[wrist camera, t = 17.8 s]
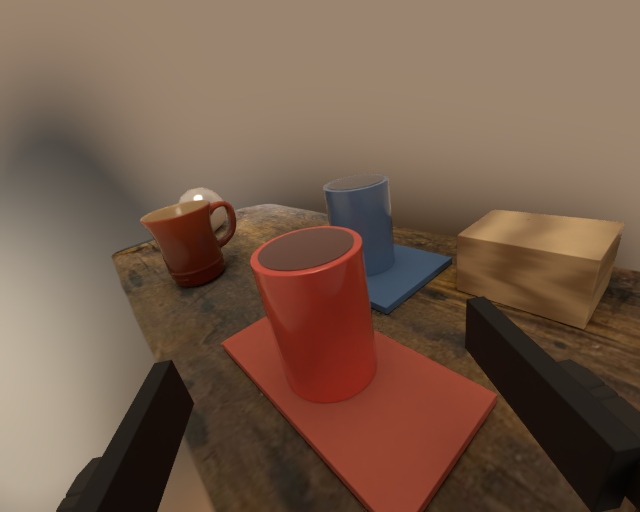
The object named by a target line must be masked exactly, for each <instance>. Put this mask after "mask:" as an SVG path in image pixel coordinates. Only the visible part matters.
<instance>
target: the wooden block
mask: <svg viewBox="0 0 640 512" xmlns="http://www.w3.org/2000/svg"><path fill="white" fill-rule="evenodd" d="M623 228H624V223H623V222H613V221H604V220H594V219H584V218H574V217H564V216H554V215H544V214H534V213H524V212H515V211H503V210H495V209H494V210H492V211H491V212H489V213H488V214H487V215H485V216H484V217H483V218H481V219H480V220H478V221H477V222H476V223H474V224H473V225H471V226H470V227H468V228H467V229H466V230H464V231H463V232H462V233H460V234H459V235H457V288H456V289H457V290H459V291H462V292H465V293H468V294H472V295H475V296H478V297H481V296H485V297H486V298H487V299H488V300H491V301H494V302H497V303H500V304H503V305H507V306H510V307H513V308H516V309H519V310H523V311H526V312H529V313H532V314H535V315H539V316H542V317H545V318H548V319H551V320H555V321H558V322H561V323H564V324H567V325H571V326H574V327H577V328H580V329H585V327H586V325H587V323H588V321H589V319H590V318H591V316H592V314H593V312H594V310H595V308H596V307H597V305H598V303H599V301H600V299H601V297H602V295H603V294H604V292H605V290H606V288H607V286H608V284H609V280H610V276H611V273H612V269H613V265H614V261H615V257H616V254H617V250H618V246H619V243H620V239H621V235H622V231H623Z"/></svg>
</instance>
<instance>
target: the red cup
mask: <svg viewBox="0 0 640 512" xmlns="http://www.w3.org/2000/svg"><path fill="white" fill-rule="evenodd" d="M250 265H251V268H252V271H253V275H254V278H255V281H256V284H257V287H258V291H259V294H260V297H261V300H262V303H263V307H264V310H265V313H266V316H267V319H268V323H269V326H270V329H271V332H272V335H273V339H274V342H275V345H276V348H277V351H278V355H279V358H280V361H281V364H282V367H283V371H284V374H285V377H286V380H287V383H288V385H289V386H290V388H291V389H292V390H293V391H294V392H295V393H296V394H297V395H298V396H300V397H302V398H304V399H306V400H308V401H312V402H317V403H334V402H339V401H343V400H346V399H349V398H351V397H353V396H355V395H356V394H358V393H360V392H361V391H362V390H363V389H365V388H366V387H367V386H368V385H369V383H370V382H371V381H372V379H373V377H374V375H375V373H376V370H377V365H378V358H377V350H376V343H375V335H374V327H373V319H372V312H371V304H370V296H369V288H368V281H367V273H366V265H365V257H364V250H363V242H362V238H361V236H360V235H359V234H358V233H357V232H355V231H354V230H351V229H348V228H344V227H336V226H321V227H311V228H305V229H300V230H296V231H292V232H289V233H286V234H283V235H281V236H278V237H276V238H274V239H272V240H270V241H268V242H266V243H265V244H263V245H262V246H260V247H259V248H258V249H257V250H256V251H255V252H254V253H253V254H252V256H251V260H250Z"/></svg>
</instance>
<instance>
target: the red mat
mask: <svg viewBox="0 0 640 512" xmlns="http://www.w3.org/2000/svg"><path fill="white" fill-rule="evenodd" d="M374 335H375V343H376V350H377V358H378V365H377V370H376V373H375V375H374V377H373V379H372V381H371V382H370V383H369V385H368V386H367V387H366V388H365V389H363V390H362V391H361V392H360V393H358V394H356V395H355V396H353V397H351V398H349V399H346V400H343V401H339V402H334V403H317V402H312V401H308V400H306V399H304V398H302V397H300V396H298V395H297V394H296V393H295V392H294V391H293V390H292V389H291V388H290V386H289V385H288V383H287V380H286V377H285V374H284V371H283V367H282V364H281V361H280V358H279V355H278V351H277V348H276V345H275V342H274V339H273V335H272V332H271V329H270V326H269V323H268V319H267V316H265V317H264V318H262V319H260V320H259V321H257V322H255V323H254V324H252V325H250V326H249V327H247V328H245V329H244V330H242V331H240V332H239V333H237V334H235V335H234V336H232V337H230V338H229V339H227V340H225V341H223V342H222V346H223V348H224V350H225V351H226V352H227V353H228V354H229V355H230V356H231V357H232V359H233V360H234V361H235V362H236V363H237V364H238V365H239V366H240V368H241V369H242V370H243V371H244V372H245V373H246V374H247V375H248V377H249V378H250V379H251V380H252V381H253V382H254V383H255V384H256V385H257V387H258V388H259V389H260V390H261V391H262V392H263V393H264V394H265V396H266V397H267V398H268V399H269V400H270V401H271V402H272V403H273V405H274V406H275V407H276V408H277V409H278V410H279V411H280V412H281V414H282V415H283V416H284V417H285V418H286V419H287V420H288V421H289V422H290V424H291V425H292V426H293V427H294V428H295V429H296V430H297V431H298V433H299V434H300V435H301V436H302V437H303V438H304V439H305V440H306V442H307V443H308V444H309V445H310V446H311V447H312V448H313V449H314V451H315V452H316V453H317V454H318V455H319V456H320V457H321V458H322V460H323V461H324V462H325V463H326V464H327V465H328V466H329V467H330V468H331V470H332V471H333V472H334V473H335V474H336V475H337V476H338V477H339V479H340V480H341V481H342V482H343V483H344V484H345V485H346V486H347V488H348V489H349V490H350V491H351V492H352V493H353V494H354V495H355V497H356V498H357V499H358V500H359V501H360V502H361V503H362V504H363V505H364V507H365V508H366V509H367V510H368V511H369V512H423V511H424V510H425V508H426V507H427V505H428V504H429V502H430V501H431V500H432V498H433V497H434V495H435V494H436V492H437V491H438V489H439V488H440V486H441V485H442V483H443V482H444V480H445V479H446V477H447V476H448V474H449V473H450V471H451V470H452V468H453V467H454V465H455V464H456V462H457V461H458V459H459V458H460V456H461V455H462V453H463V452H464V450H465V449H466V447H467V446H468V444H469V443H470V441H471V440H472V438H473V437H474V435H475V434H476V432H477V431H478V429H479V428H480V426H481V425H482V423H483V422H484V420H485V419H486V418H487V416H488V415H489V413H490V412H491V410H492V409H493V407H494V406H495V404H496V401H497V394H496V393H494V392H492V391H490V390H488V389H486V388H484V387H482V386H480V385H479V384H477V383H475V382H473V381H471V380H469V379H467V378H465V377H463V376H461V375H459V374H458V373H456V372H454V371H452V370H450V369H448V368H446V367H444V366H442V365H440V364H438V363H436V362H435V361H433V360H431V359H429V358H427V357H425V356H423V355H421V354H419V353H417V352H415V351H414V350H412V349H410V348H408V347H406V346H404V345H402V344H400V343H398V342H396V341H394V340H393V339H391V338H389V337H387V336H385V335H383V334H381V333H379V332H377V331H375V330H374Z"/></svg>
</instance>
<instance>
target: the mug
mask: <svg viewBox="0 0 640 512" xmlns="http://www.w3.org/2000/svg"><path fill="white" fill-rule="evenodd" d="M222 206H223V207H224V208H225V209H226V212H227V216H228V223H229V224H228V229H227V232H226V233H225V234H224V235H223V236H221V237H220V238H216V236H215V233H214V231H213V228H212V224H211V215H212V214H213V212H214V211H215V210H216V209H217V208H219V207H222ZM140 222H141V223H142V225H143V226H144V227H145V228H146V229H147V230H148V231H149V232H150V234H151V235H152V236H153V238H154V239H155V241H156V242H157V244H158V246H159V249H160V251H161V254H162V257H163V259H164V261H165V264H166V266H167V268H168V271H169V274H170V275H171V276H172V278H173V280H174V281H175V282H176V283H177V284H178V285H179V286H183V287H196V286H200V285H204V284H206V283H209V282H211V281H212V280H214V279H216V278H217V277H218V276H219V275H220V274H221V273H222V271H223V270H224V267H225V265H224V259H223V254H222V252H221V247H223V246H224V245H226V244H227V243H228V242H229V240H230V239H231V238H232V237H233V235H234V233H235V229H236V216H235V212H234V209H233V207H232V206H231V205H230V204H229V203H228V202H225V201H216V202H213V203H210V202H209V201H207V200H195V201H189V202H184V203H179V204H175V205H171V206H168V207H165V208H162V209H159V210H156V211H154V212H151V213H149V214H147V215H145V216H144V217H142V218H141V219H140Z"/></svg>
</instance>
